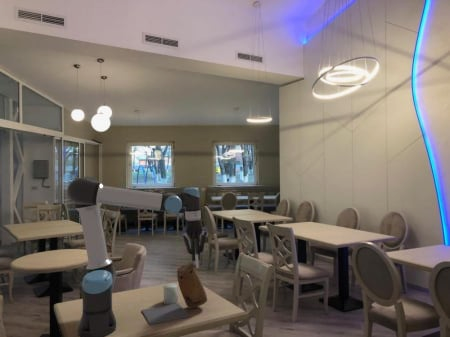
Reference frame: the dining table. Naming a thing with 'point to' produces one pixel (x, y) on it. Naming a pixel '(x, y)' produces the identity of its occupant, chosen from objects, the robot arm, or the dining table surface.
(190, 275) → the block
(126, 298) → the dining table surface
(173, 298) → the grey cylinder
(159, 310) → the mat
